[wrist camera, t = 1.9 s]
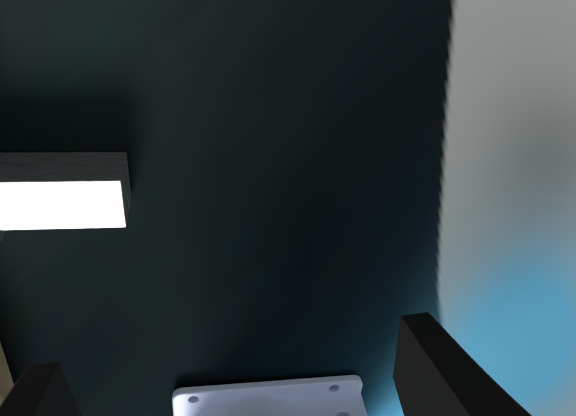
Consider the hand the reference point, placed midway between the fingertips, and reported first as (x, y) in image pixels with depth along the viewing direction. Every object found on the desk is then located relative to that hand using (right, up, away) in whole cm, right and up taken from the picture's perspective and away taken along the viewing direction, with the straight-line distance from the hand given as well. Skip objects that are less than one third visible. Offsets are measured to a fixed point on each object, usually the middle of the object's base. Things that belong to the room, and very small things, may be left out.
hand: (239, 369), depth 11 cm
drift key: (-8, +5, +7) cm, 11 cm away
